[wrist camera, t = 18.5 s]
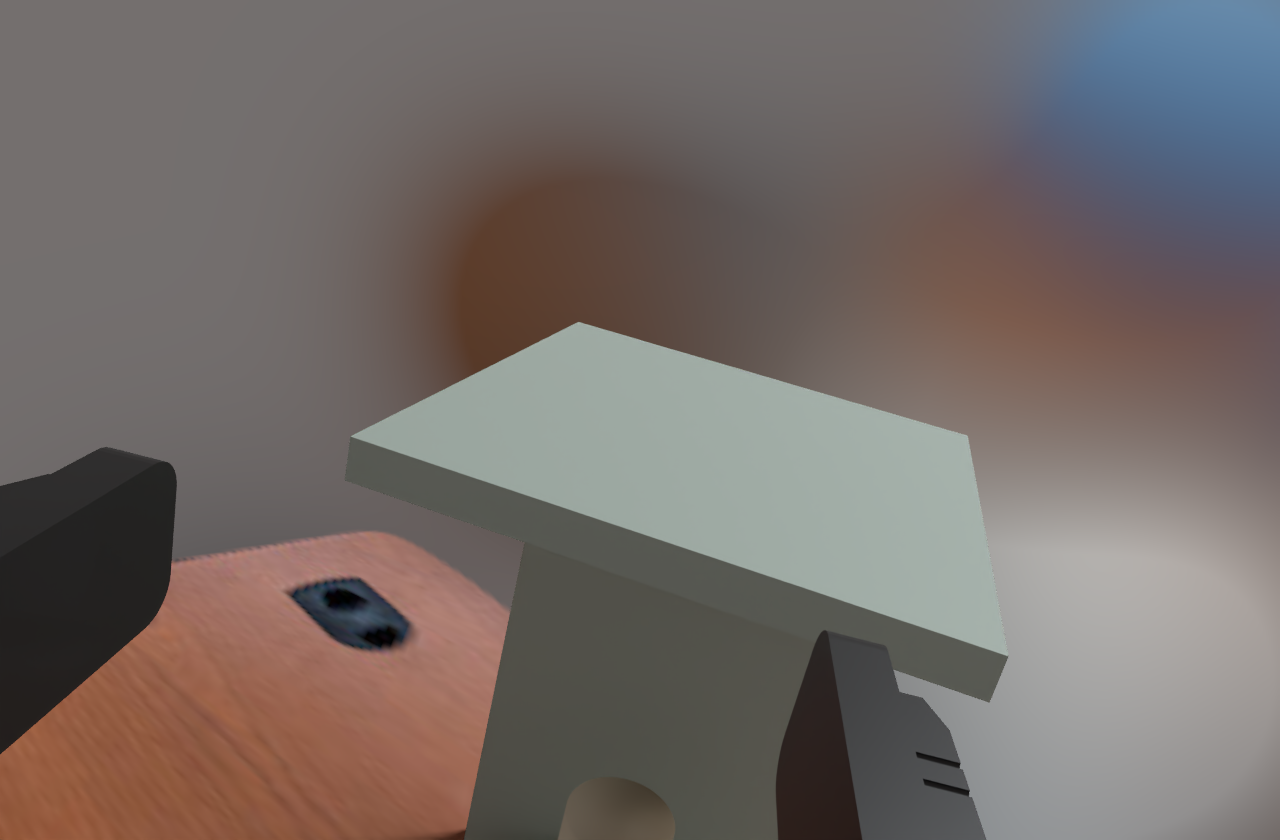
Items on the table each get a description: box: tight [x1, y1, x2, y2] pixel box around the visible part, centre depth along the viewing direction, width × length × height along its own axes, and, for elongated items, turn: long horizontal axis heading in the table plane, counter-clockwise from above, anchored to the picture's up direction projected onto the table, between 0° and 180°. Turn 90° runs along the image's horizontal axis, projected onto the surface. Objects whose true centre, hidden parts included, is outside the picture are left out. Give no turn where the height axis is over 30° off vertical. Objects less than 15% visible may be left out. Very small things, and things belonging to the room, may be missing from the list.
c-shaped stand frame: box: [345, 322, 1008, 840], centre depth 34 cm, size 16×17×27 cm
